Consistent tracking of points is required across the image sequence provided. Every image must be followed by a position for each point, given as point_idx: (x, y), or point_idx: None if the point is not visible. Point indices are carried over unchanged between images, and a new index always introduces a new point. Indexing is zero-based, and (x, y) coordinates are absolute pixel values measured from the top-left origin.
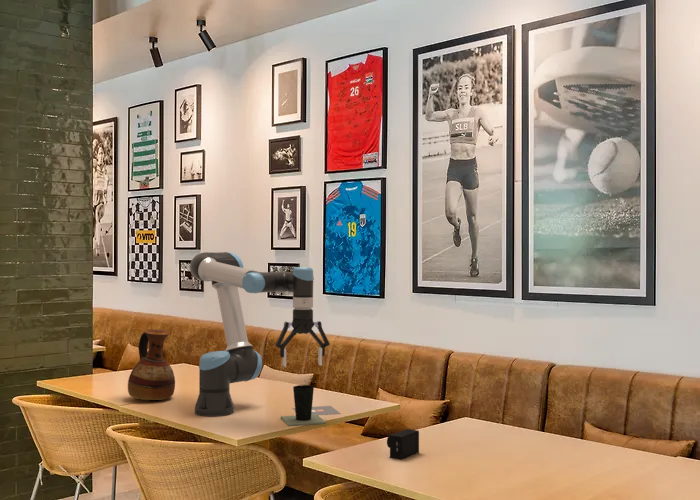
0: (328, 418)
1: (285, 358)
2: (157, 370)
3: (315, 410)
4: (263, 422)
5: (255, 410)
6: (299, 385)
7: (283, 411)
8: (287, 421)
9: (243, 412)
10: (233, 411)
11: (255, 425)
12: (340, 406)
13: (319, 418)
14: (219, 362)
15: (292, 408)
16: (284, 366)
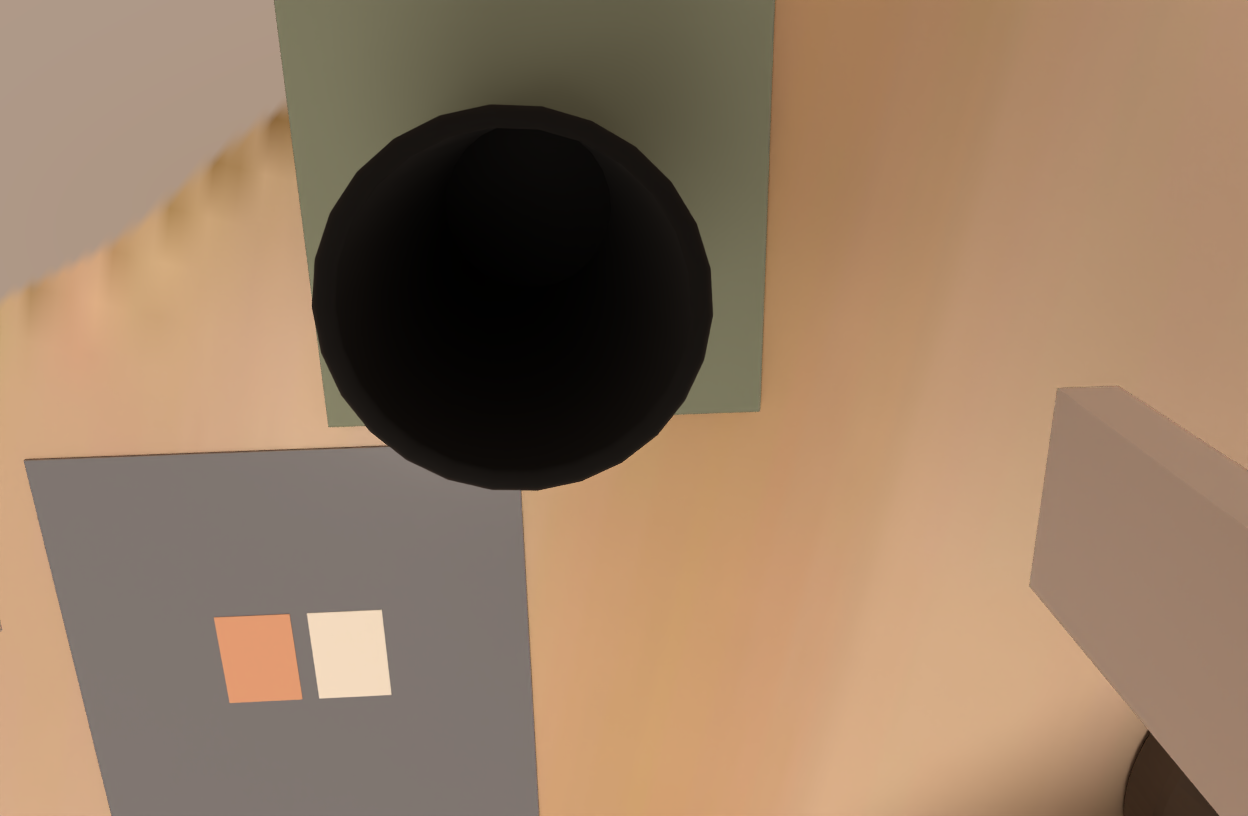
0: (204, 254)
1: (1235, 498)
2: None
3: (310, 669)
4: (994, 237)
5: (915, 792)
6: (561, 475)
7: (656, 700)
8: (745, 124)
9: (1049, 734)
10: (1154, 741)
11: (1125, 104)
12: (8, 803)
13: (324, 191)
14: None
15: (538, 805)
16: (1112, 389)
